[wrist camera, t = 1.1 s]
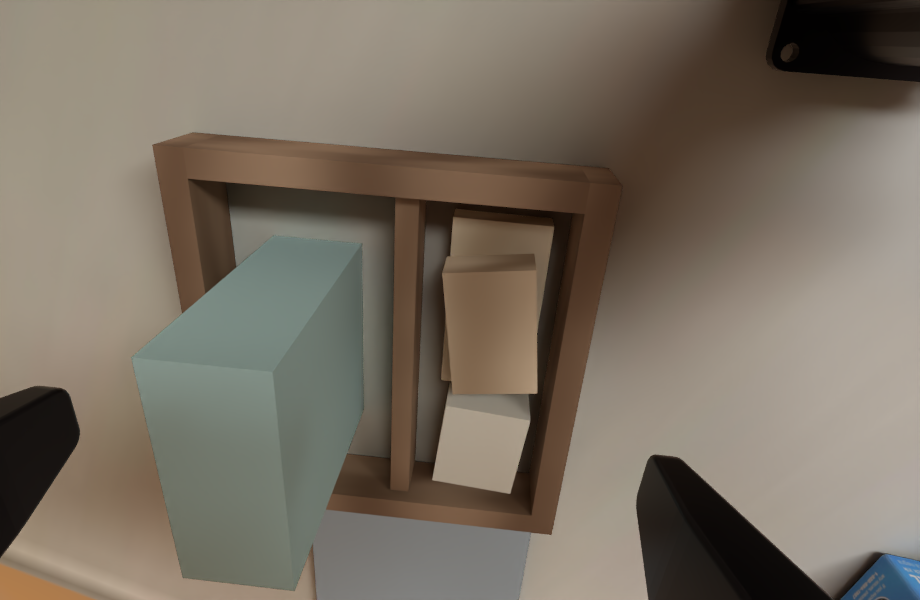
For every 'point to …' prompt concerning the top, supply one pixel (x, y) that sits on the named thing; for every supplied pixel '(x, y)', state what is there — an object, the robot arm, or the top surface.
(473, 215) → the offcut
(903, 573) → the ink box
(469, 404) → the offcut
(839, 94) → the top surface
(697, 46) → the top surface
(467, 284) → the offcut
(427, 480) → the tray
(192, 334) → the tall sage green box
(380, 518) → the mat
